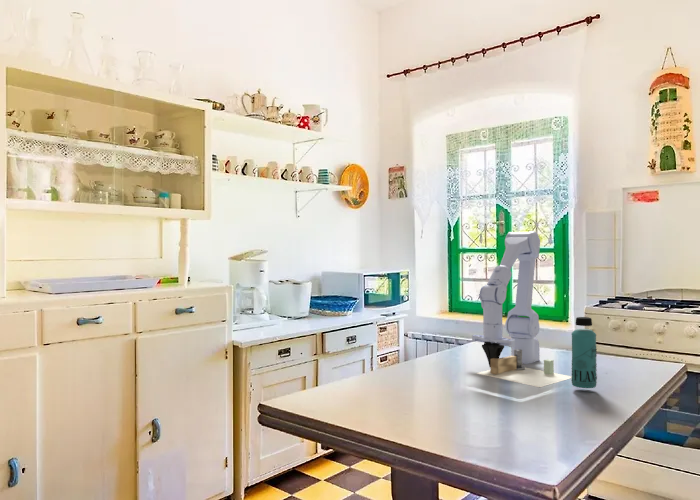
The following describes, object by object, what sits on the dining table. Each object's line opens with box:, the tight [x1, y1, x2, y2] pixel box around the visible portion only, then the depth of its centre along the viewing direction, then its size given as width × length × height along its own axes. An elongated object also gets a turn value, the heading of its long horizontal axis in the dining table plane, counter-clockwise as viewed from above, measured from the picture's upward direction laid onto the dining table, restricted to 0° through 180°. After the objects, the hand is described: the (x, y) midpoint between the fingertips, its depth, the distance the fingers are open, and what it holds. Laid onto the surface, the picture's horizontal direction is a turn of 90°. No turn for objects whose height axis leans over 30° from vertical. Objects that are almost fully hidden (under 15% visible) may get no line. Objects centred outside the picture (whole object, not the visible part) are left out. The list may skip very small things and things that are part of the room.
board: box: [476, 367, 572, 388], centre depth 164 cm, size 18×22×1 cm
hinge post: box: [514, 349, 525, 370], centre depth 172 cm, size 4×4×7 cm
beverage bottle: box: [570, 316, 598, 389], centre depth 149 cm, size 6×7×20 cm
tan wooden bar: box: [489, 355, 516, 374], centre depth 168 cm, size 11×2×4 cm, turn 128°
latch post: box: [543, 358, 555, 374], centre depth 166 cm, size 2×2×5 cm
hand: (493, 367), depth 171 cm, fingers closed
